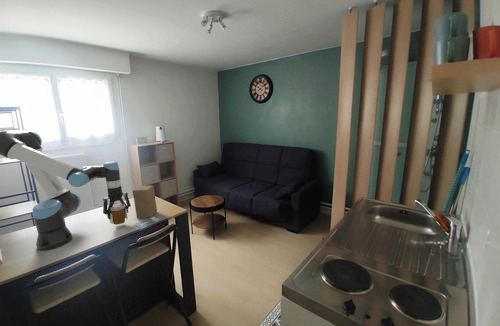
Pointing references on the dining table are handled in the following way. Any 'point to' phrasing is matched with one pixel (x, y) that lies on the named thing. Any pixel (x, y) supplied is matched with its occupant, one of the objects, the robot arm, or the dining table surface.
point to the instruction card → (149, 221)
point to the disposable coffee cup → (118, 213)
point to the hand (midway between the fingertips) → (119, 220)
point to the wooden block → (144, 201)
